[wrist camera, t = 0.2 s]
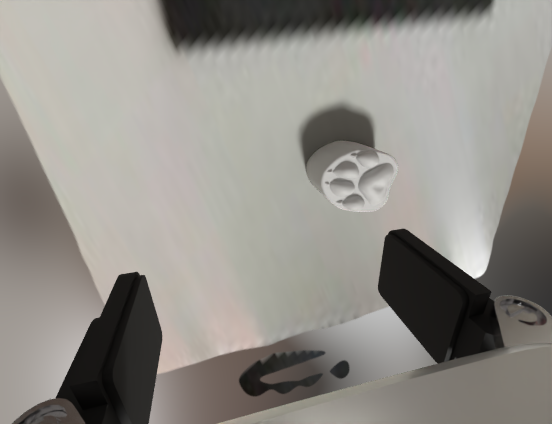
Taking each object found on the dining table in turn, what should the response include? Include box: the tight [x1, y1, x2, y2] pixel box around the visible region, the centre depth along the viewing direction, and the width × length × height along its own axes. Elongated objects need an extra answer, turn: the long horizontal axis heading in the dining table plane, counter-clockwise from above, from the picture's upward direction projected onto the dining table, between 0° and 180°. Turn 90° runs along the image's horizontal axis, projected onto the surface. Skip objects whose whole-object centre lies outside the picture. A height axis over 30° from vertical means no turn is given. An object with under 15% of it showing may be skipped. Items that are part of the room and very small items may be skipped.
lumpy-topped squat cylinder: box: [306, 141, 398, 212], centre depth 47 cm, size 10×13×9 cm
